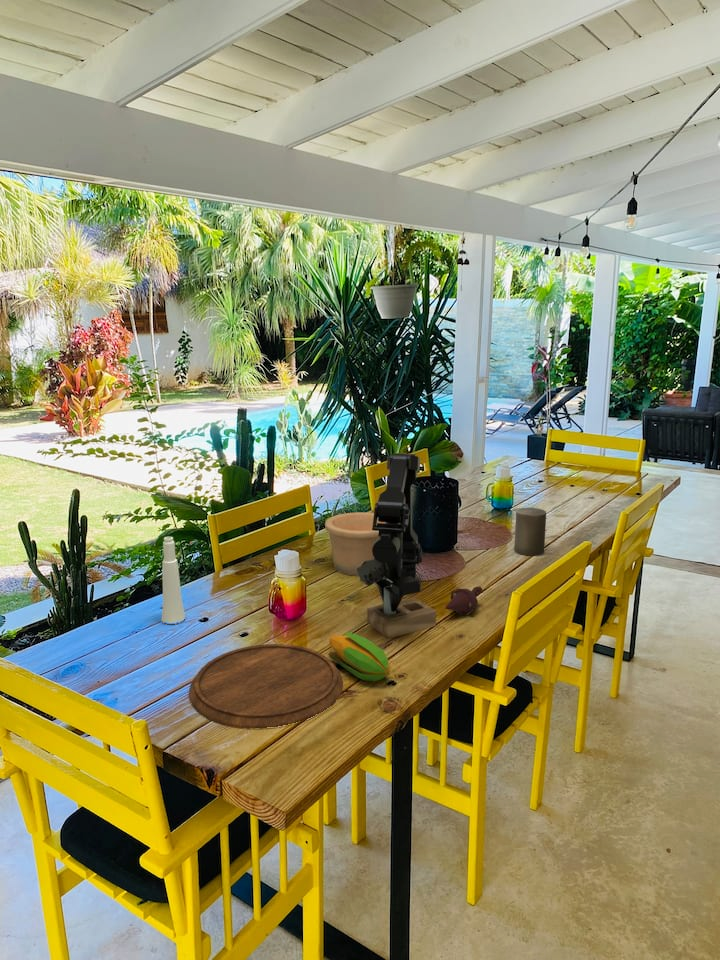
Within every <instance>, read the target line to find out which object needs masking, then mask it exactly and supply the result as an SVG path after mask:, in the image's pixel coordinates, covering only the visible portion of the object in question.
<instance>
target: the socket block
mask: <svg viewBox="0 0 720 960" xmlns="http://www.w3.org/2000/svg"><path fill="white" fill-rule="evenodd" d="M366 610H367V612H366V615H367V619H366V622H367V624H368V625H370V626H371V627H372V628H374V629H375V630H376V631H378V632H379V633H380V634H382V635H383V636H384V637H386V638H387V639H391V638H394V637H399V636H402V635H406V634H410V633H414V632H418V631H421V630H425V629H429V628H432V627H436V626H437V625H436V624H437V611H436V610H435V609H434V608H432V607H430V606H429V605H427V604H425V603H424V602H422V601H420V600H419V599H417V598H415V597H409V598H405V599H402V600H401V602H400V604H399V606H398V607H397V609H396V614H394V615H390V616H386V615H385V614H384V604H383V603H382V604H380V605H375V606H371V607H367V609H366Z"/></svg>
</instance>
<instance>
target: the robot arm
mask: <svg viewBox="0 0 720 960" xmlns="http://www.w3.org/2000/svg"><path fill="white" fill-rule="evenodd" d="M386 458H387V459H386V460H387V461H386V470H389V472H388V473H389V474H388V477H387V483H386V487H385V490H384V491H383V492H381V493H380V494H379V496H378V499H377V502H375V503H374V511H373V513H374V518H373V527H372V530H374V531H379V535H378V538H377V540H376V542H375V544H374V546H373V548H372V553H373V556H374V559H373V560H368V561H364V563H363V564H362V565H361V566H360V567H359V568H357V572H358V575H359V576H358V577H359V581H360V582H361V583H364V584H365V585H366V586H371V585H374V584H375V585H376V586H377V588H378V591H379V594H380V598H381V600H382V605H383V604H384V587H385V586H391V587H386V588H385V589H386V590H387V591H388V592H389V594H390V606H391V611H392V612H394V611H396V609H397V607H398V606H399V604H400V602H401V600H403V598H404V596H408V595H412V594H417V593H421V591H422V583H421V580H420V579H418V578H417V565H420V564H422V562H423V549H422V547H421V545H420V543H419V541H418V538H419V537H418V534H417V533H416V532H415V530H414V529H413V484H414V483H415V481H416V479H417V475H418V472H420V470H421V469H420V468H421V459H420V457H419V456H418V455H416V453H398V452H397V453H394V452H393V453H392V454H390V455H387V457H386ZM377 519H378V521H379V522H386V523H377ZM376 524H377V525H376Z"/></svg>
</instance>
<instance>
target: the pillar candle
mask: <svg viewBox="0 0 720 960" xmlns="http://www.w3.org/2000/svg"><path fill="white" fill-rule="evenodd" d="M546 526H547V511H546V510H544V509H543V508H542V509H541V508H537V507H536V508H535V507H521V508H517V509H516V510H515V526H514V544H513V545H514V546H513V547H514V548H513V551H514V552H515V553H517V554H519V555H523V556H530V557H534V556H535V557H536V556H541V555H543V554H544V553H545V546H546V545H545V544H546V543H545V542H546Z"/></svg>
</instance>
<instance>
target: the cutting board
mask: <svg viewBox="0 0 720 960" xmlns="http://www.w3.org/2000/svg"><path fill="white" fill-rule="evenodd" d="M343 684H344V681H343V677H342V674H341V671H340V670H339V668H337V667H336V665H335V664H334V663H333V662H332V660H330V659H329V658H328V657H327V656H325V655H324V654H322V653H320V652H318V651H315V650H314V649H313V650H312V649H310V648H307V647H304V646H299V645H293V644H282V643H270V644H268V643H267V644H257V645H256V644H255V645H249V646H245V647H241V648H237V649H233V650H231V651H228V652H225V653H222V654H220V655H218V656H216V657H215V658H213V659H211V660H210V661H208V662H207V663H205V664H204V665H203V666H202V667H201V668H200V670H199V671H198V672H197V674H196V675H195V676H194V678H193V679H192V680H191V683H190V686H189V691H188V695H189V696H190V697H189V701H190V703H192V704H191V706H192V705H193V706H192V708H194V710H195V709H196V710H197V711H196V710H195V711H196V712H197V713H198V712H199V713H198V714H199V715H201V716H202V715H203V716H202V717H203V718H205V717H206V718H205V719H207V720H209V721H211V722H213V723H216V724H220V725H222V726H225V725H226V727H230V726H231V727H230V728H234V727H235V729H243V728H267V727H278V726H283V725H288V724H292V723H296V722H299V721H302V720H304V719H308V718H311V717H313V716H315V715H316V714H319V713H321V712H323V711H324V710H326V709H327V708H329V707H330V706H331V707H332V706H333V705H334V704H335V703H336V702H337V701H338V700H339V699H340V697H341V695H342V693H343V688H344V685H343ZM340 694H341V695H340ZM339 696H340V697H339ZM337 699H338V700H337ZM336 700H337V701H336ZM333 703H334V704H333ZM331 707H330V708H331ZM330 708H329V709H330ZM327 710H328V709H327ZM327 710H326V711H327ZM324 712H325V711H324ZM324 712H323V713H324ZM321 714H322V713H321ZM237 727H238V728H237Z"/></svg>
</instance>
